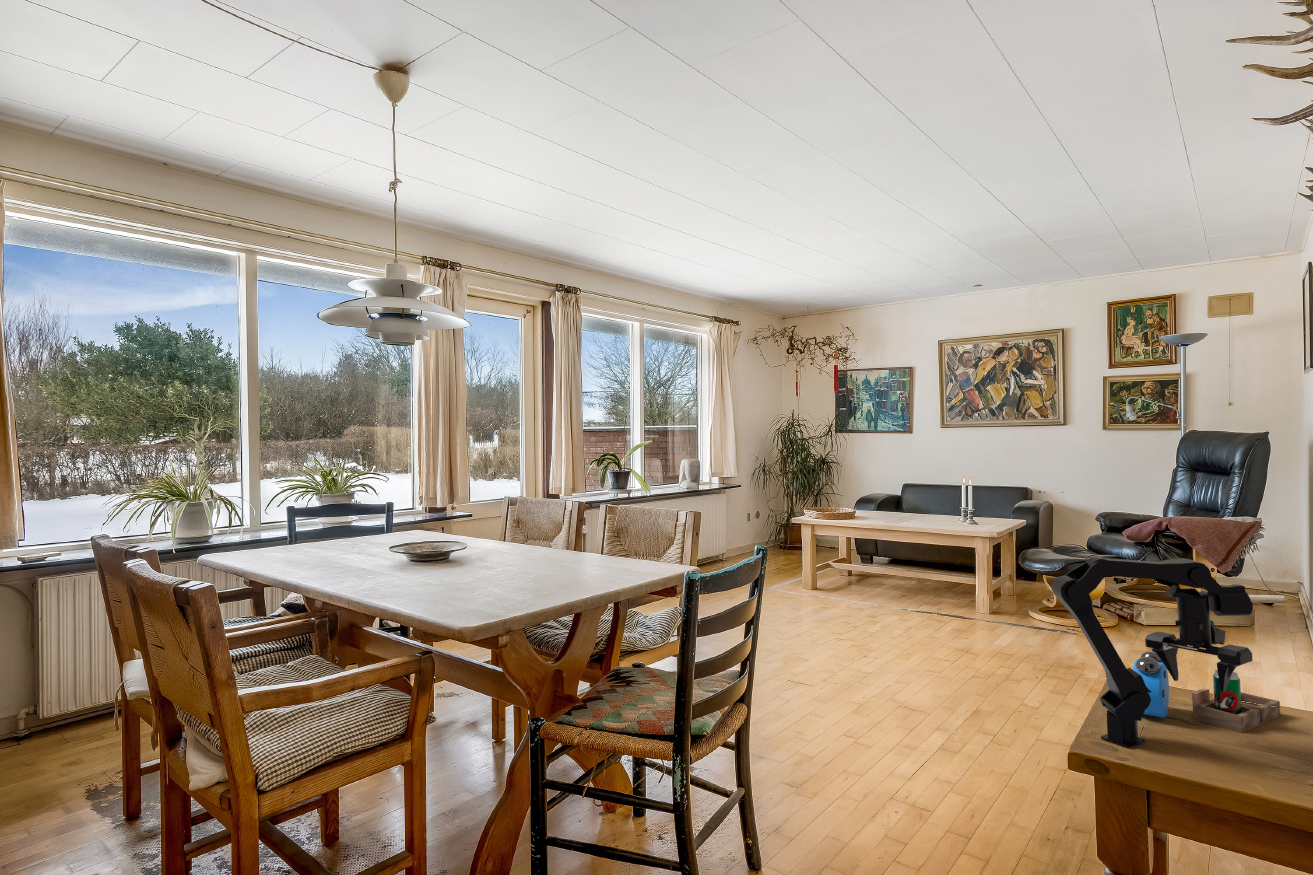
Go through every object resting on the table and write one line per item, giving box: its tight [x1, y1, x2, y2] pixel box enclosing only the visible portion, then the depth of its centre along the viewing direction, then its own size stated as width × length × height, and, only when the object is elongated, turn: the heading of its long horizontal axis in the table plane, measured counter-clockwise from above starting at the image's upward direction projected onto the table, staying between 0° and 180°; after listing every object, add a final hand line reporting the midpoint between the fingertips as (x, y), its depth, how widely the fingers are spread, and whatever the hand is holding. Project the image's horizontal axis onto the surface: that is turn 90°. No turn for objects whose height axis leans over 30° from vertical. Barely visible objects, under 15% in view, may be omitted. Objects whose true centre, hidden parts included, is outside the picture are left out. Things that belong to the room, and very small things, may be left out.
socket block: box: [1191, 685, 1281, 733], centre depth 171 cm, size 19×10×6 cm, turn 117°
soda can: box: [1212, 669, 1242, 715], centre depth 168 cm, size 5×5×12 cm
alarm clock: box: [1132, 650, 1170, 719], centre depth 174 cm, size 13×6×15 cm, turn 137°
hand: (1199, 685), depth 157 cm, fingers open, 9 cm apart
